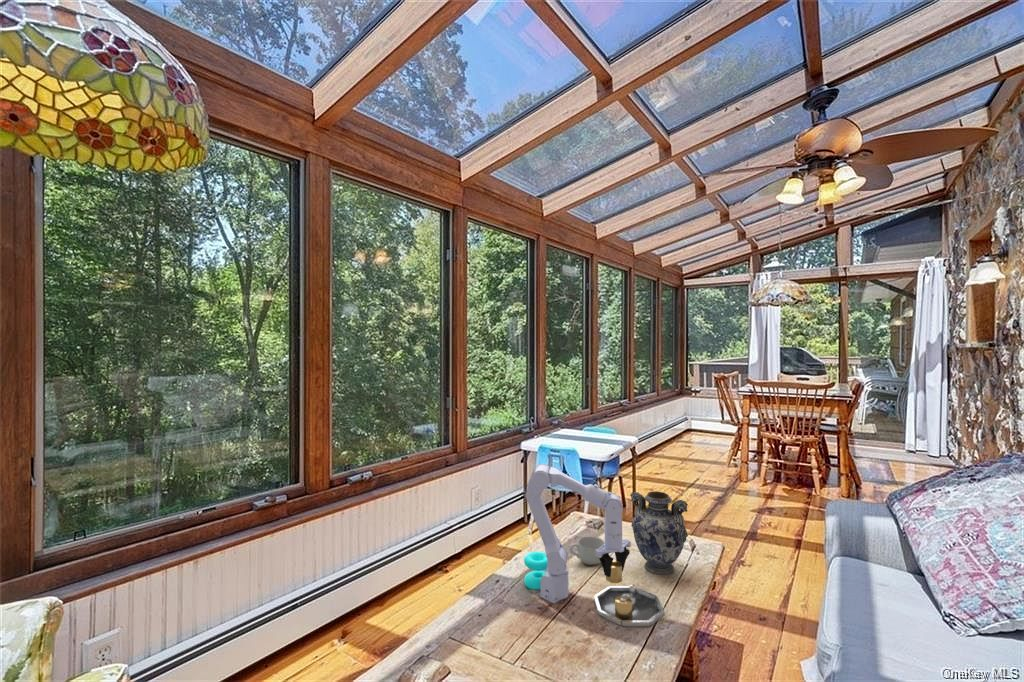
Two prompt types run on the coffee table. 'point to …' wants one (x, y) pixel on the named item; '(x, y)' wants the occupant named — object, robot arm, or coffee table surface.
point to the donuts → (538, 564)
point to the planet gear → (615, 572)
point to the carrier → (628, 606)
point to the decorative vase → (659, 530)
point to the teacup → (588, 549)
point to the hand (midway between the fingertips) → (613, 573)
